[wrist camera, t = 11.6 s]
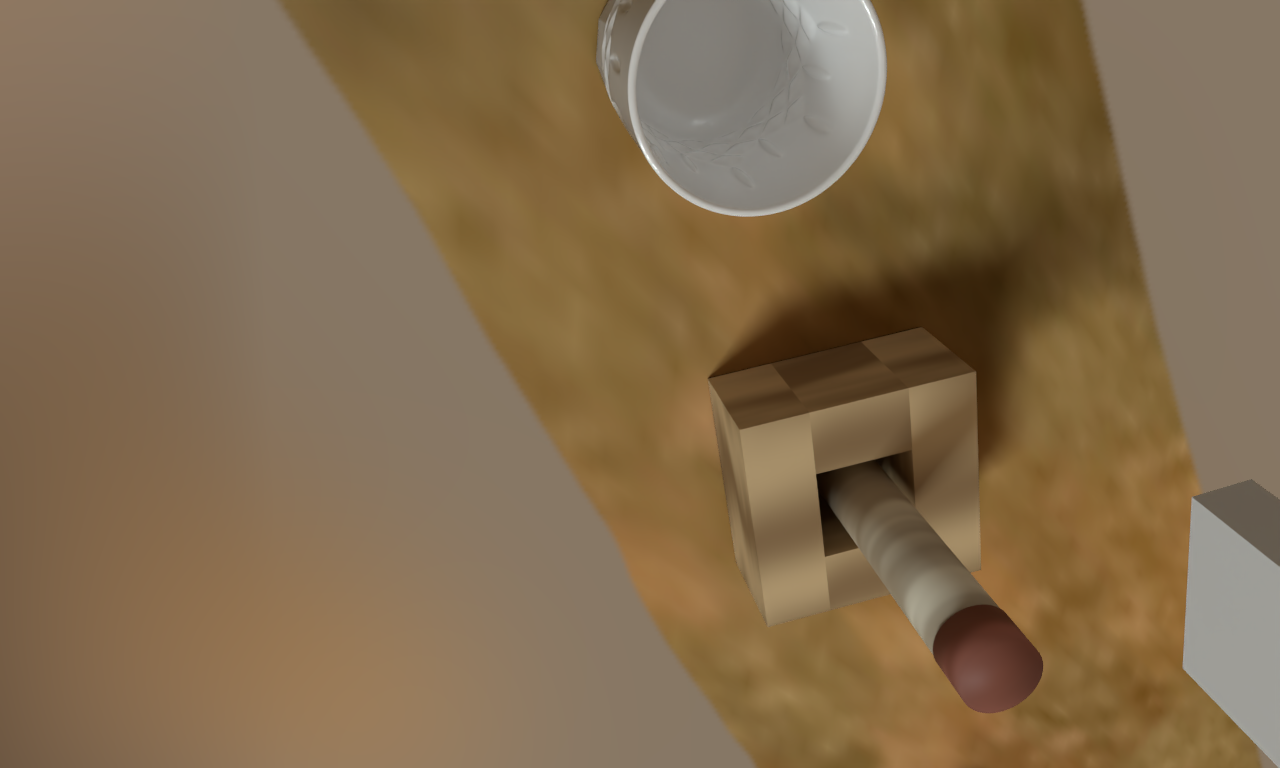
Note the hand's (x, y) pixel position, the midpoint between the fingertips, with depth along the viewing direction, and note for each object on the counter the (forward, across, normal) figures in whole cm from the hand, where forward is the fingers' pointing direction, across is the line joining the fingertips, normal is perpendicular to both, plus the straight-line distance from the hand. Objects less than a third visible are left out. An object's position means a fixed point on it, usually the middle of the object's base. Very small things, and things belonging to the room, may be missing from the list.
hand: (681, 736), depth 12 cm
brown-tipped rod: (+30, +11, -17) cm, 37 cm away
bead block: (+30, +11, -17) cm, 37 cm away
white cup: (+31, +8, +2) cm, 32 cm away
